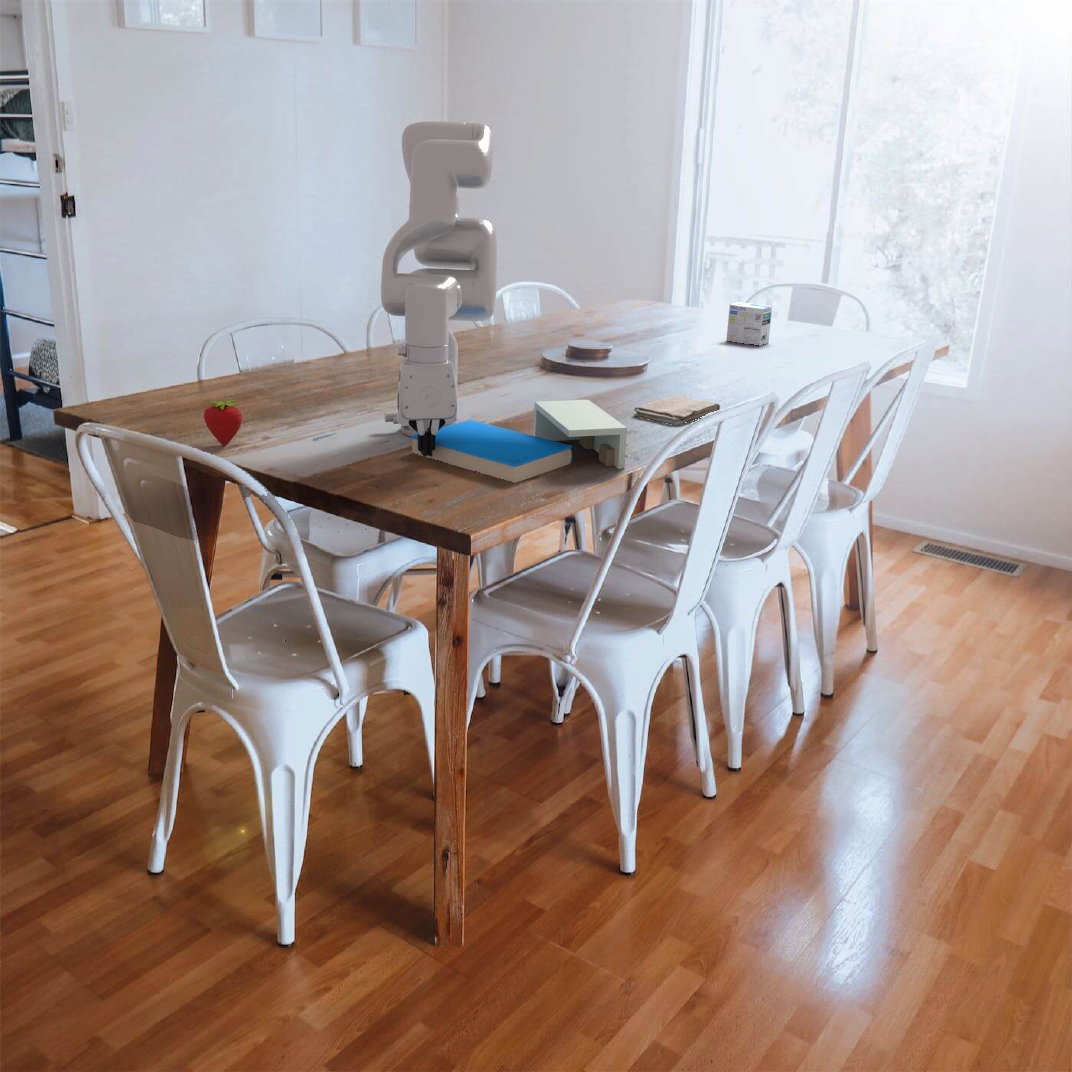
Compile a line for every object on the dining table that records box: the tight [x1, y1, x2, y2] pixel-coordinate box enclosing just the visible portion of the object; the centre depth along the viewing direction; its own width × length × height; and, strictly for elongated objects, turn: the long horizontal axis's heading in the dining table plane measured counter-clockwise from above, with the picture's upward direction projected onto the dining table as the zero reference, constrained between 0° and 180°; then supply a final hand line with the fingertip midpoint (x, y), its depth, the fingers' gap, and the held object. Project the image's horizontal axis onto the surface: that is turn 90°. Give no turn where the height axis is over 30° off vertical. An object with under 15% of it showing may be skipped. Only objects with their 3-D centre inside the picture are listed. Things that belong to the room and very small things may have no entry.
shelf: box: [532, 399, 628, 470], centre depth 212 cm, size 11×21×8 cm, turn 17°
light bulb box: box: [726, 301, 773, 347], centre depth 323 cm, size 11×7×11 cm, turn 58°
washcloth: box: [633, 395, 721, 426], centre depth 244 cm, size 12×18×3 cm, turn 143°
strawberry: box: [203, 391, 243, 446], centre depth 208 cm, size 6×8×10 cm
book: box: [410, 419, 574, 484], centre depth 208 cm, size 17×4×25 cm
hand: (426, 454), depth 204 cm, fingers closed
